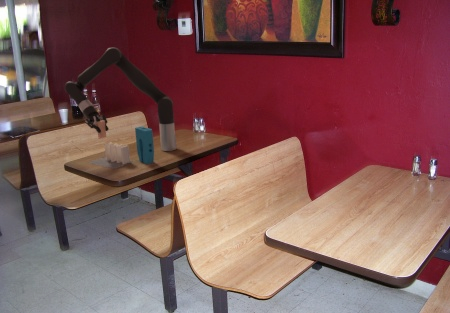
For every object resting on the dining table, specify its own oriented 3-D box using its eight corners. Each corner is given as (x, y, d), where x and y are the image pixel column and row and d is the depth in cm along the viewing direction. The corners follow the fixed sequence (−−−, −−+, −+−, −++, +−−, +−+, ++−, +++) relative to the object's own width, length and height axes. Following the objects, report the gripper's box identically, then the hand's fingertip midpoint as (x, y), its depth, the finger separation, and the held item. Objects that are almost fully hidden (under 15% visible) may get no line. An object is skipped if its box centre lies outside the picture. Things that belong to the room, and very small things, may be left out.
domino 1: (106, 160, 272) (104, 144, 269) (112, 158, 276) (110, 142, 273) (107, 160, 271) (105, 144, 269) (113, 158, 275) (112, 142, 272)
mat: (86, 163, 269) (86, 162, 269) (106, 156, 281) (106, 156, 281) (114, 169, 257) (114, 168, 257) (133, 162, 269) (133, 161, 268)
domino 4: (122, 164, 265) (120, 147, 262) (128, 161, 269) (127, 145, 266) (123, 164, 264) (122, 147, 261) (130, 162, 268) (128, 145, 265)
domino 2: (111, 161, 270) (109, 145, 267) (117, 159, 274) (116, 143, 271) (112, 162, 269) (111, 145, 266) (119, 159, 273) (117, 143, 270)
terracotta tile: (98, 138, 271) (96, 121, 268) (105, 136, 275) (103, 120, 272) (99, 138, 270) (98, 122, 267) (106, 137, 274) (104, 120, 271)
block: (155, 163, 265) (153, 129, 259) (148, 165, 262) (145, 131, 256) (144, 159, 274) (142, 126, 268) (137, 160, 271) (134, 127, 265)
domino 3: (116, 162, 267) (115, 146, 264) (123, 160, 271) (121, 144, 268) (118, 163, 267) (116, 146, 264) (124, 160, 270) (122, 144, 268)
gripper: (80, 107, 265) (97, 129, 262) (99, 103, 277) (115, 124, 274) (75, 115, 270) (91, 137, 267) (94, 111, 281) (110, 132, 278)
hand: (103, 131), depth 270 cm, fingers closed on terracotta tile, 5 cm apart
